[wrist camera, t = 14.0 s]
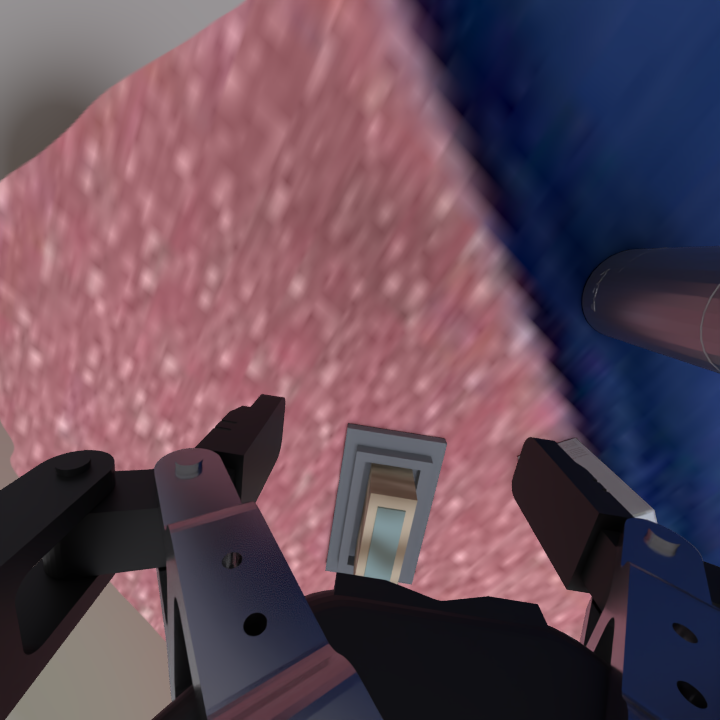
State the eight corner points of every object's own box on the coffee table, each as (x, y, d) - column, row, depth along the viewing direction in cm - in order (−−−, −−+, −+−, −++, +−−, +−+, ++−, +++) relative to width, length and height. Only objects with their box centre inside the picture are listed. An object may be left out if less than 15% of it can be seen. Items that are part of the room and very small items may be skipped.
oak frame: (371, 461, 42) (370, 494, 36) (412, 467, 42) (417, 501, 36) (355, 551, 46) (351, 594, 40) (391, 557, 46) (394, 601, 40)
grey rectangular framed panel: (348, 423, 42) (346, 434, 40) (445, 438, 42) (449, 450, 40) (326, 563, 49) (323, 580, 46) (410, 576, 49) (412, 594, 46)
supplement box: (515, 455, 43) (570, 533, 30) (576, 436, 41) (658, 509, 29) (530, 502, 44) (588, 594, 32) (589, 485, 43) (672, 573, 31)
